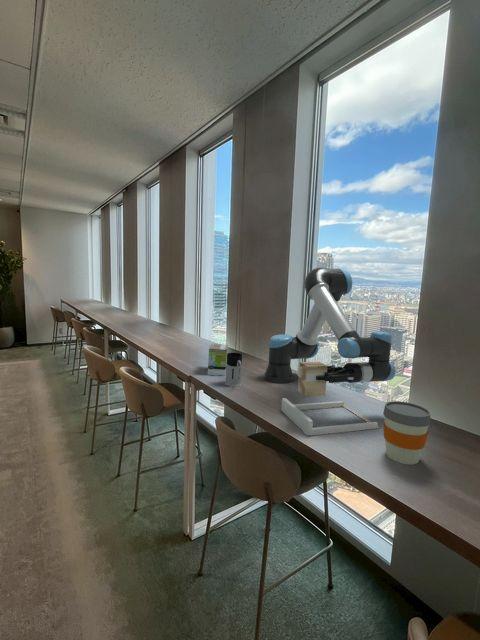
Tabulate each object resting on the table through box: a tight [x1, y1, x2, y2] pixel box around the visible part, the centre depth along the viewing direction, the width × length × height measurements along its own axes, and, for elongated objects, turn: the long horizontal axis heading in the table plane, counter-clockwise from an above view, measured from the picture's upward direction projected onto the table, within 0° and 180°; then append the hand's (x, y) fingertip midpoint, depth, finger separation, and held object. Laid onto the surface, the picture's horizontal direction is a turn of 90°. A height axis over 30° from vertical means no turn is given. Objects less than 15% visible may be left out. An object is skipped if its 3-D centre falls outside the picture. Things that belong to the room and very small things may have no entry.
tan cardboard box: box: [297, 361, 329, 397], centre depth 119 cm, size 6×8×11 cm
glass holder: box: [224, 352, 243, 388], centre depth 157 cm, size 9×14×15 cm, turn 18°
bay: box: [280, 397, 381, 437], centre depth 123 cm, size 22×29×5 cm
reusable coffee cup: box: [382, 400, 431, 466], centre depth 97 cm, size 13×13×15 cm
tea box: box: [207, 343, 229, 377], centre depth 180 cm, size 15×10×15 cm
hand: (302, 374), depth 118 cm, fingers closed on tan cardboard box, 6 cm apart
